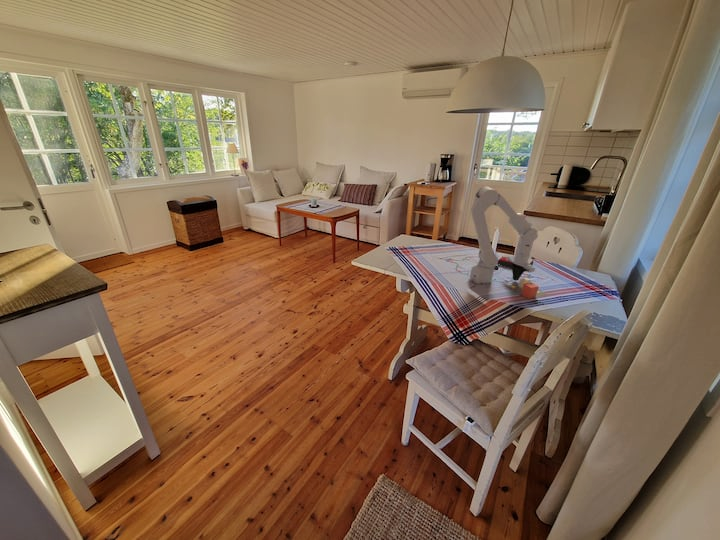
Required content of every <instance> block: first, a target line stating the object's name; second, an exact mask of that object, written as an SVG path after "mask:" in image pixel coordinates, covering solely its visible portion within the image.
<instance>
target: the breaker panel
mask: <svg viewBox="0 0 720 540" xmlns="http://www.w3.org/2000/svg"><path fill="white" fill-rule="evenodd" d="M505 287H506V288H508V289H509V290H511V291H513V292H514V293H515V294H517V295H519V296H522V297H523V298H524V299H526V300H530V299H531V300H532V299H538V298H542V297H547V296H550V295H549V294H548V293H546V292H544V291H542V290H540V289H539V288H538V291H537V294H536V297H533V298H527V297H525V296H523V295H522V294H521V291H522V288H523V287H520V286H519V285H518V284H514V285H512V284H511V285H507V286H505Z"/></svg>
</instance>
